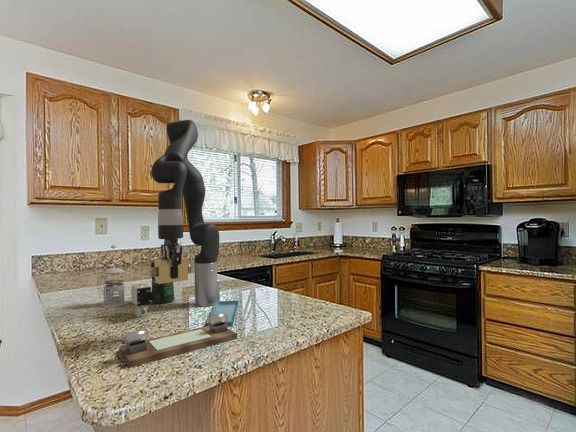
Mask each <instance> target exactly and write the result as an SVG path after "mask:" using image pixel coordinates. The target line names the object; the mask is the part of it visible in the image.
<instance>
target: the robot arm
mask: <svg viewBox="0 0 576 432" xmlns="http://www.w3.org/2000/svg"><path fill="white" fill-rule="evenodd" d="M166 134H167V139H168V141H169V145H168V146H167V147H166V148H165V150H164V151H165V152H164V154H163V155H162V154H161V156H159V157H158V158H157V159H156V160H155V161H154V162H153V164H152V167H151V171H150V172H151V178H152V179H153V181H155V182H156V183H158V184H173V186H172V188H170V189H167V190H161V191H160V192H159V193H158V199H157V201H158V202H157V203H158V213H157V237H158V239H159V240H163V244H160V249H161V251H160V253H161V259H168V260H170V275H171V278H172V279H175V278H178V266H179V265H180V264H181V258H182V256H183V245H180V244H179V239H183V238H184V215H183V210H182V209H183V203H182V201H184V206H185V213H186V217H187V223H188V225H187V226H188V231H189V232H188V233H189V237H190V241H191V242H192V244H194V245H195V246H200V252H199V253H198V254H196V255H195V256H194V261H193V262H194V268H193V269H194V304H195V306H198V307H210V306H215V304H216V302H217V301H221V300H220V297H221V295H220V292H221V291H220V279H218V257H219V254H220V230H219V228H218V227H217V226H216V225H215V224H214V223H213V224H212V223H205V221H204V216H203V207H204V202H205V198H206V186H205V180H204V178H203V174H202V173H201V172H200V171H199V170H198V169H197V168H196V167H195V165H193V164H192V163H191V161H190V160H189V159H188V158H187V156H188V154H189V152H191V150H192V149H193V147H194V146H195V145H196V143H197V141H198V139H199V138H198V137H199V133H198V127H197V125H196V123H195V122H194V121H193V120H192V119H184V120H178V121H171V122H168V123H167V125H166ZM182 198H183V199H182ZM175 259H176V261H175Z"/></svg>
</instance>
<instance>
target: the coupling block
mask: <svg viewBox="0 0 576 432" xmlns="http://www.w3.org/2000/svg"><path fill="white" fill-rule="evenodd" d="M156 259H157V260H155V267H151V266H150V269H149V270H150V271H149V272H150V277H151V278H152V277H155V282H156V283H158V284H163V283H170V282H173V283H177V282H184V281H188V280H189V273H191V272H192V265H191V263H189V261H188V259H189V258H188V257H184V256H183V257H182V258H181V264H180V265H179V266H178V278H175V279H172V278H171V275H170V260H168V259H162V258H156ZM175 261H176V259H175Z"/></svg>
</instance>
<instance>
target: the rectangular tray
mask: <svg viewBox="0 0 576 432" xmlns="http://www.w3.org/2000/svg"><path fill="white" fill-rule="evenodd" d="M239 303H240V300H220V301H217V302H216V304H215V305H213V308H212V310H211V313H210V314H209V316H210V315H214V314H219V313H224V312H226V313H227V314H228V322H225V323H227V324H228V327H232V326H234V324H235V319H236V315H237V310H238V307H239ZM206 324H207V326H210V324H209V317H208V318H207V320H206Z"/></svg>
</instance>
